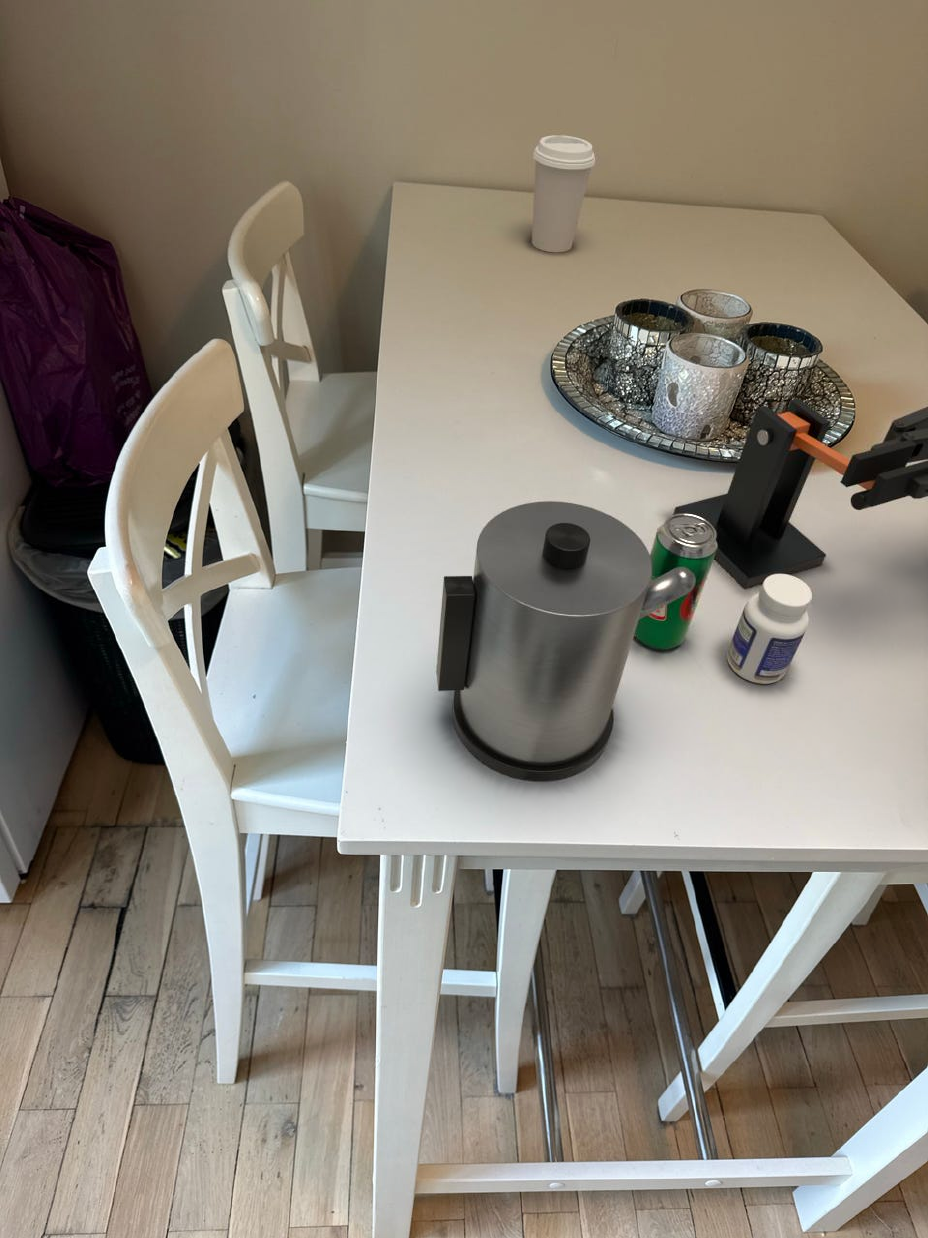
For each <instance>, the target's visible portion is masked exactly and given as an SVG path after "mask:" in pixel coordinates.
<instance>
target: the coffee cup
mask: <svg viewBox="0 0 928 1238" xmlns="http://www.w3.org/2000/svg"><path fill="white" fill-rule="evenodd" d="M593 149H594V148H593V145H592V144H591V142H589V141H587V140H586V139H583V138H579V137H577V136H571V135H562V134H561V135H559V134H556V135H555V134H554V135H547V136H544V137H542V138H540V140H539V143H538V144H537V146H536V147H535V149H534V150H533V153H532V158H533V160H535V161H534V163H535V164H534V186H533V187H534V189H533V206H532V207H533V208H532V210H533V211H532V230H531V244H532V246H533V247H534V248H535V249H537V250H540V251H543V252H548V253H557V254H558V253H565V252H568V251H570V250H571V249H572V248H573V247H572V246H573V243H574V238H575V234H576V231H577V226H578V223H579V218H580V214H581V210H582V205H583V203H584V199H585V194H586V190H587V186H588V181H589V177H590V174H591V170H592V168H593V167H594V166H595V165H596V156H595V153H594V151H593Z"/></svg>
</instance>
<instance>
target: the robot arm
mask: <svg viewBox="0 0 928 1238" xmlns="http://www.w3.org/2000/svg"><path fill="white" fill-rule="evenodd" d="M849 460H850V462H849V464H848V466H847V469H846V471H845V473H844V475H842V477H841V480H840V481H839V482H840V483H841V484H842V485H843V486H844V487H845V488H850V487H853V486H857V485H858V484H860V483H864V482H868V481H871V480H875V479H876V480H875V482H874V484H873V486H872V488H871V490H870V492H869V494H868V496H867V498H866V500H865V502H866V503H867V504H868V505H869V506H871V507H870V508H873V507H876V506H880V505H883V504H886V503H890V502H894V501H897V500H900V499H903V498H906V497H911V498H912V499H915V500H920V499H923V498H927V497H928V406H926V407H924V408H920V409H918V410H916V411H913V412H910V413H908V414H905V415H903V416H901V417H899V418H896V419H894V420H892V422H891V424H890V425H889V428H888V431H887V432H886V434H885V437H884V438H883V441H882V442H879V443H875V444H873V445H872V446H871V448H870V449H869V450H866V451H862V452H859V453H855V454H852V456H851V457H850V459H849ZM915 462H916V463H915ZM910 463H914V464H910ZM908 464H909V465H908Z"/></svg>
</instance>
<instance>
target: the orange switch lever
mask: <svg viewBox="0 0 928 1238" xmlns="http://www.w3.org/2000/svg"><path fill="white" fill-rule="evenodd" d="M776 414H777V413H776ZM777 415H778V416H780V417H781V418H782V419H784V420H785V421H786V422H787V423H789V424H790V425H791V426H793V427H794V428H795V429H796V430H797V433H796V435H795V438H794V440H793V443H792V445H791V448H790V450H789V451H791V450H795V449H799V448H800V449H802V450H803V451H805V452H806V453H808V454H810V455H811V456H813V457H814V458H815V460H818V461H819V462H820V463H823V464H824V465H826V466H827V467H829V468H831V469H832V470H833V471H835V472H837V473H838V474H840V475H842V476H843V475H844V473H845V471H846V469H847V466H848V464H849V462H850V460H851V459H849V458H848V457H846V456H844V455H842V454H841V453H839V452H838V451H836V450H834V449H833V448H831V447H830V446H827V445H826V444H824V443H823V442H822V443H821V442H819V441H817V440H816V439H814V438H812V437H811V436H809V435H807V434H808V430H809V427H810V424H809V423H808V422H806V421H804V420H803V419H801V418H799V417H797V416H796V415H794V414H792V413H791V412H787V411H786V412H783V413H778V414H777ZM875 480H876V479H875ZM875 480H871V481H868V482H864V483H860V484H857V485H858V486H860V487H861V488H862V489H865V490H861V491H859V492H854V493H853V494H852V495H851V496H850V506H851V507H852V508H853V509H854V510H856V511H863V510H865V509H868V508H872V507H871V506H869V505H868V504H867V503H866V502H865V500H866V498H867V496H868V494H869V492H870V490H871V488H872V486H873V484H874V482H875Z"/></svg>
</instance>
